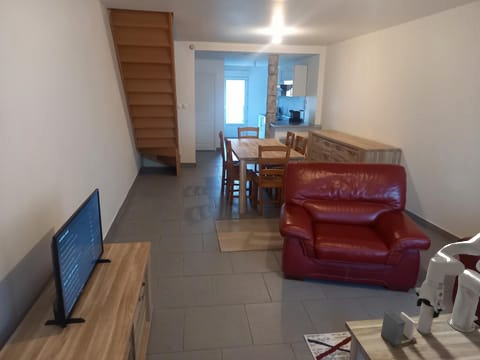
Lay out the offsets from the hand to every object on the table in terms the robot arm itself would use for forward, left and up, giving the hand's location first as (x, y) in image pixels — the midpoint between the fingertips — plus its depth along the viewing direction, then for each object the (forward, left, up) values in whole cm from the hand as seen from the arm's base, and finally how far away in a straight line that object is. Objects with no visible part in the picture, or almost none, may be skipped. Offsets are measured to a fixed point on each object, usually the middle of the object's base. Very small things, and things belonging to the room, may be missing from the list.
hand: (427, 311), depth 175 cm
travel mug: (0, 0, -12) cm, 12 cm away
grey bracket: (+17, 0, -12) cm, 20 cm away
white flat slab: (+13, +1, -10) cm, 16 cm away
